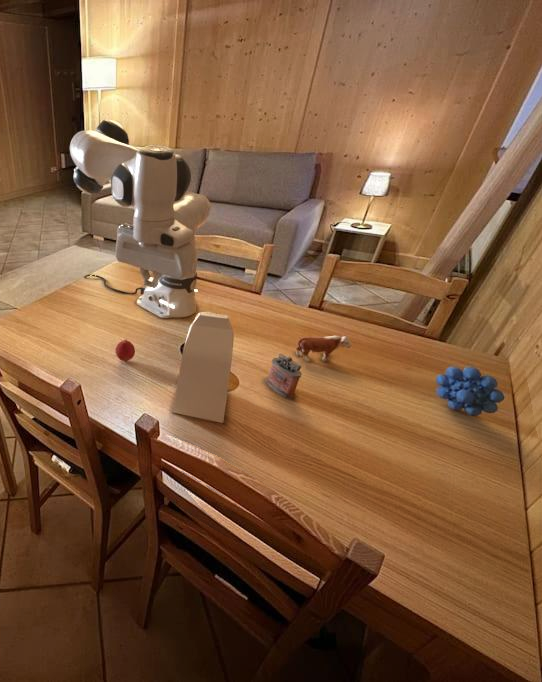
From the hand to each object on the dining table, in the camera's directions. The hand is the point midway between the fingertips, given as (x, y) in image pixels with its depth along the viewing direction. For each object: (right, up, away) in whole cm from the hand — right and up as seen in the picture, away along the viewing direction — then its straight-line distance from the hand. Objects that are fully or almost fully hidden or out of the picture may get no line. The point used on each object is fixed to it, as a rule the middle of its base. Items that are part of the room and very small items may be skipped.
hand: (150, 286), depth 87 cm
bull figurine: (+52, -19, +17) cm, 58 cm away
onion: (-4, -20, +22) cm, 30 cm away
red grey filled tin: (+36, -26, +8) cm, 45 cm away
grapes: (+72, -30, -2) cm, 78 cm away
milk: (+14, -29, +6) cm, 33 cm away
